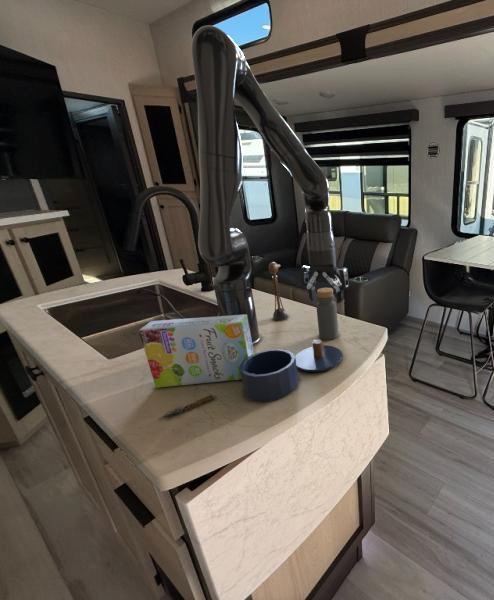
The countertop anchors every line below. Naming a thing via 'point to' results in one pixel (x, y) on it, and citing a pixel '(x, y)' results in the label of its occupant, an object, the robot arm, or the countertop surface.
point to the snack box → (196, 349)
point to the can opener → (192, 405)
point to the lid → (318, 357)
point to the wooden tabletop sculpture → (277, 293)
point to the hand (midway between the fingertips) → (326, 301)
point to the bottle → (327, 314)
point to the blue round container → (269, 375)
